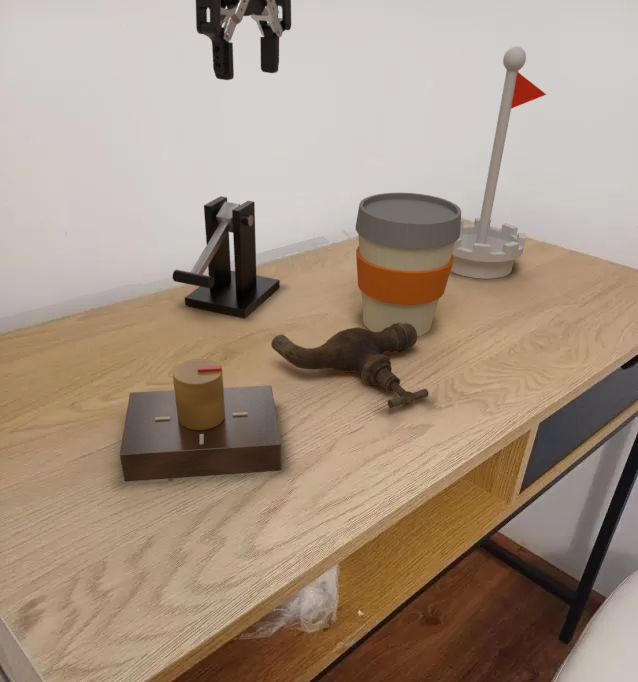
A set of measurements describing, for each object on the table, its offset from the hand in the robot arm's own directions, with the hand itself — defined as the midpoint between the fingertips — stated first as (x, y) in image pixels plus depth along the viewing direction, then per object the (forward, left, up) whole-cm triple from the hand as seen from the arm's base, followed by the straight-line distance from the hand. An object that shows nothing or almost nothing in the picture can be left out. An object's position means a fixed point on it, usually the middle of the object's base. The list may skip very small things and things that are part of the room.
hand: (247, 75), depth 77 cm
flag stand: (+28, +23, -27) cm, 45 cm away
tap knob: (+12, -35, -24) cm, 44 cm away
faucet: (+23, -17, -27) cm, 39 cm away
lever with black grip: (-1, -8, -19) cm, 21 cm away
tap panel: (+12, -35, -27) cm, 46 cm away
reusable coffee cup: (+22, -2, -27) cm, 35 cm away
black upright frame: (-1, -4, -27) cm, 27 cm away
